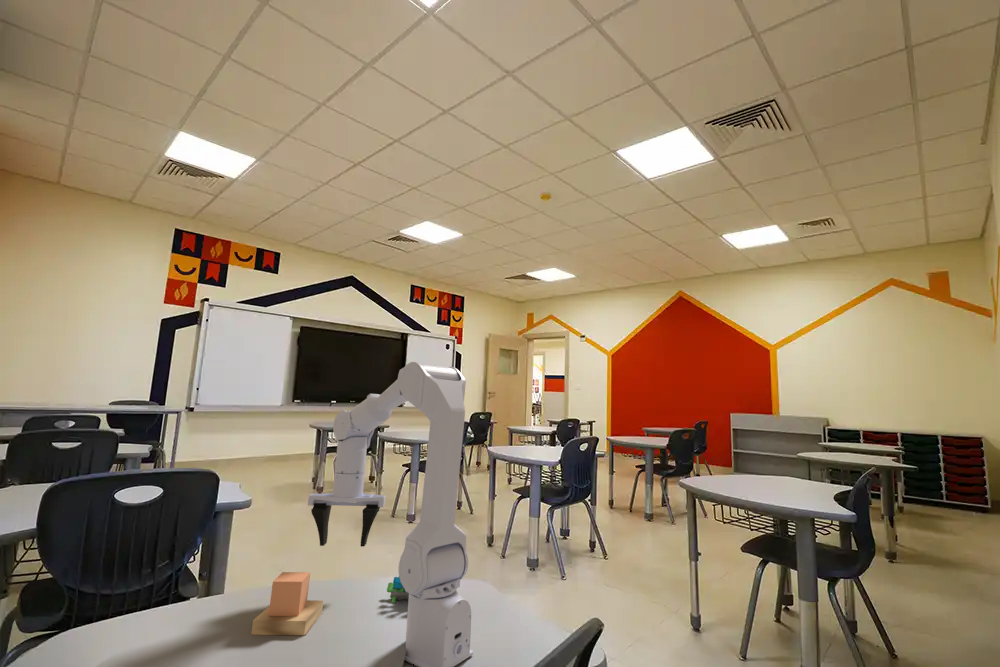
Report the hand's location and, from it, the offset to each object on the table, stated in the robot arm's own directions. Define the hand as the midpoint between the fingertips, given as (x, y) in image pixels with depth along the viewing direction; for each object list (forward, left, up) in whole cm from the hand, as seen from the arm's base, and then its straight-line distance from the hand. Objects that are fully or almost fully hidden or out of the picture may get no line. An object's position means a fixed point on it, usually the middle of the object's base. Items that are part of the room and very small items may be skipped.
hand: (343, 544), depth 89 cm
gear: (-13, -7, -10) cm, 18 cm away
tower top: (-5, +13, -9) cm, 16 cm away
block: (-5, +13, -6) cm, 16 cm away
